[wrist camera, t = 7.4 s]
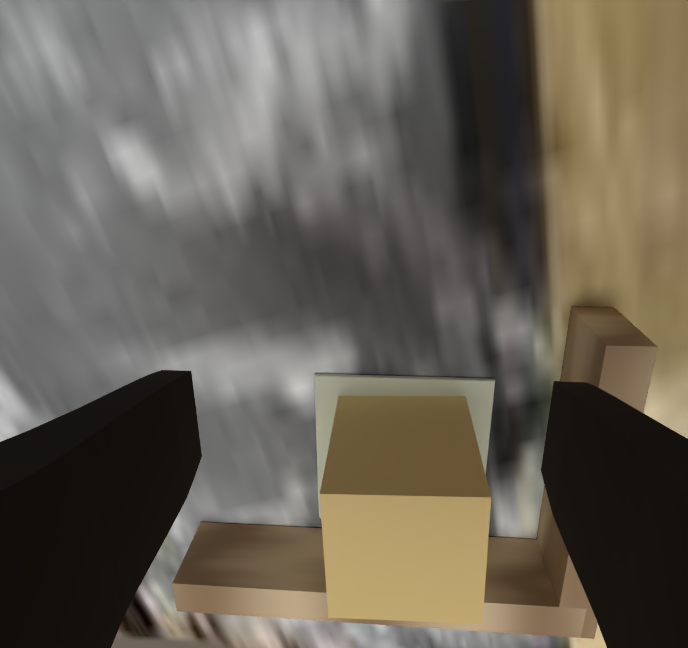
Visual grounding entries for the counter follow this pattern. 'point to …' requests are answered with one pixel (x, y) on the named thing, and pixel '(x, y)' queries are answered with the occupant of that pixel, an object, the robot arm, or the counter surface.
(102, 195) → the counter surface
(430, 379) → the pad
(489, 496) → the block
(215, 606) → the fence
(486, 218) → the counter surface
